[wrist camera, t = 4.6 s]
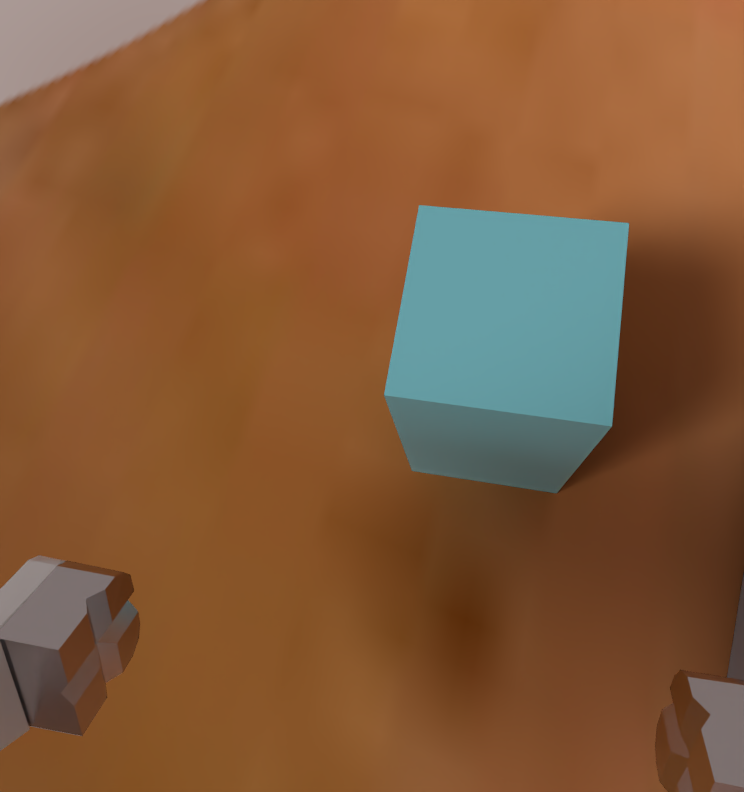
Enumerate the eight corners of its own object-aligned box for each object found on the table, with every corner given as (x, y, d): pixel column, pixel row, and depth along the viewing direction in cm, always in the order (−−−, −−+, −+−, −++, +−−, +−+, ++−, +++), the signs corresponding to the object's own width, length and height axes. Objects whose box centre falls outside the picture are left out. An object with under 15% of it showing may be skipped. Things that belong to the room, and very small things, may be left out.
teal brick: (556, 493, 20) (612, 426, 13) (412, 470, 21) (384, 395, 14) (570, 357, 22) (629, 222, 14) (433, 340, 22) (419, 205, 15)
